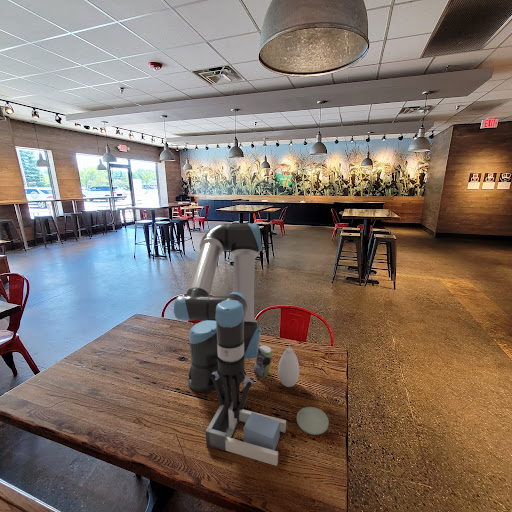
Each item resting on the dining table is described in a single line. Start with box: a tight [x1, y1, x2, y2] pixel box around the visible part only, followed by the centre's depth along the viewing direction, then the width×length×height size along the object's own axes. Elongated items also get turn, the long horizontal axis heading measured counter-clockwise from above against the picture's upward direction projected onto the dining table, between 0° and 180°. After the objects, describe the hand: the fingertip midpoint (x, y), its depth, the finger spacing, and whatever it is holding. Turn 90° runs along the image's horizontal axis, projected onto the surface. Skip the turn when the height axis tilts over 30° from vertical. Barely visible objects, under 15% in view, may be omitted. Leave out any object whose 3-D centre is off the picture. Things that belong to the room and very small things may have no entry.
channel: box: [225, 409, 287, 467], centre depth 79 cm, size 15×12×4 cm
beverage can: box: [253, 344, 273, 378], centre depth 106 cm, size 6×7×12 cm
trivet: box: [296, 406, 330, 436], centre depth 86 cm, size 10×10×1 cm
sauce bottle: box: [277, 342, 300, 388], centre depth 100 cm, size 8×8×18 cm
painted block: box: [242, 412, 281, 451], centre depth 78 cm, size 9×6×6 cm, turn 67°
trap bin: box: [205, 401, 240, 452], centre depth 82 cm, size 6×12×5 cm, turn 162°
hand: (233, 424), depth 81 cm, fingers closed
